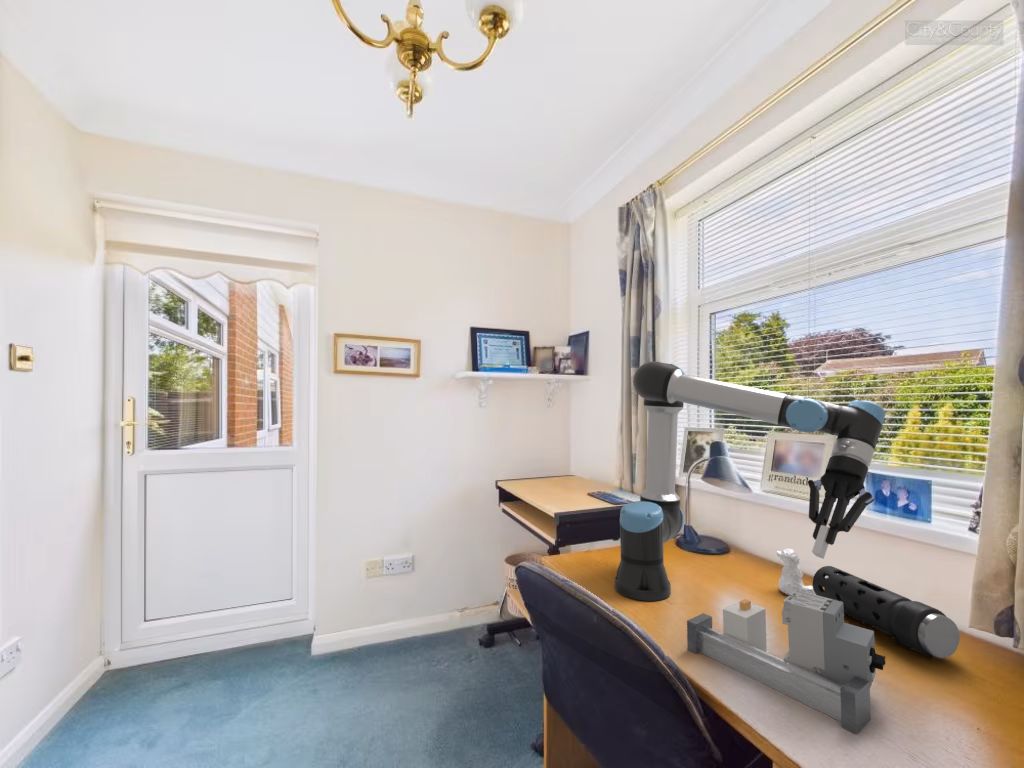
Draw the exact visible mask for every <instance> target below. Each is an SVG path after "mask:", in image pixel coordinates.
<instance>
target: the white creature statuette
mask: <svg viewBox="0 0 1024 768" xmlns="http://www.w3.org/2000/svg"><path fill="white" fill-rule="evenodd" d="M776 556H777V557H779V560H781V561H782V562H783V564H784V565H783V567H782V569H781V574H780V577H779V580H778V583H777V584H778V587H779V590H780V591H781V592H782V593H783V594H784V593H785V595H788V596H790V594H791V593H792V592H793V591H794V590H796V591H799V592H801V591H802V592H806V593H810V594H814V595H816V594H815V592H814V589H813V585H804V584H805V583H804V582H803V576H804V573H803V572H802V571H801V568H800V566H799V564H800V561H801V559H800V558H799V556H798V554H797V553H796V551H795V550H794V549H792V548H788V547H787V548H784V549H782V551H779V550H776Z"/></svg>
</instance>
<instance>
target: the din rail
mask: <svg viewBox="0 0 1024 768" xmlns="http://www.w3.org/2000/svg"><path fill="white" fill-rule="evenodd" d="M686 632H687V634H686V636H687V637H686V638H687V639H686V641H687V650H688V651H690V652H692V653H694V654H696V655H697V654H698V653H701V654H702V655H705V656H706V657H709V658H711V659H713V660H715V661H716V662H718V663H721V664H723V665H725V666H727V667H729V668H732V669H733V670H735V671H738V672H739V673H741V674H743V675H746V676H747V677H749V678H751V679H753V680H755V681H757V682H760V683H761V684H764V685H766V686H767V687H770V688H772V689H773V690H775V691H778V692H779V693H781V694H783V695H786V696H788V697H790V698H792V699H794V700H795V701H798V702H800V703H802V704H804V705H805V706H807V707H810V708H812V709H814V710H816V711H818V712H820V713H823V714H824V715H826V716H828V717H830V718H833V719H835V720H837V721H838V722H840V723H841V728H843V729H845V730H847V731H849V732H851V733H853V734H855V735H858V734H859V732H860V731H861V730H863V729H864V727H865V726H867V724H869V722H870V721H871V720H872V713H871V691H870V690H871V687H870V683H869V681H866V680H864V679H862V678H859V677H857V676H854V677H853V678H852V679H851V680H850V681H848V682H847V683H846V684H845V685H844V686H842V685H840V684H838V683H835V682H833V681H831V680H828V679H826V678H824V677H821V676H819V675H817V674H815V673H812V672H810V671H808V670H805V669H803V668H801V667H799V666H796V665H794V664H792V663H789V662H787V661H785V660H784V658H783V659H782V658H780V657H778V656H775V655H773V654H770V653H769V652H767V653H766V652H764V651H762V650H760V649H757V648H755V647H753V646H750V645H748V644H746V643H744V642H741V641H739V640H737V639H734V638H732V637H730V636H728V635H725V634H723V632H720V631H719V630H716V629H714V628H713V616H711V615H709V614H707V613H701V614H699V615H696V616H694V617H692V618H690V619H687V620H686Z"/></svg>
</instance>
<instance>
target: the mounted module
mask: <svg viewBox="0 0 1024 768" xmlns="http://www.w3.org/2000/svg"><path fill="white" fill-rule="evenodd" d="M766 617H767V616H766V608H765V607H763V606H760V605H756V604H754V603H752V602H751V600H749V599H745V598H744V599H743V600H739V601H737V602H735V603H732V604H730V605H727V606H726V607H724V608H722V623H723V624H722V625H723V626H722V630H723V632H722V633H723V634H725V635H728V636H730V637H732V638H734V639H737V640H739V641H741V642H744V643H746V644H748V645H750V646H753V647H755V648H757V649H760V650H762V651H764V652H766V653H768V651H767V649H768V648H767V647H768V646H767V626H766V625H767V622H766V620H767V619H766Z"/></svg>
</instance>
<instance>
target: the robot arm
mask: <svg viewBox="0 0 1024 768" xmlns="http://www.w3.org/2000/svg"><path fill="white" fill-rule="evenodd" d="M632 379H633V380H632V383H633V388H634V390H635V391H636V393H637V395H639V396H640V397H641V398H642V399H643V408H645V410H646V411H647V412H648V416H647V417H648V419H647V444H646V445H647V446H646V469H645V471H646V472H645V473H646V474H645V476H646V477H645V489H644V490H643V491H642V492H641V493H639V495H640V496H639V497H640V499H639V500H638V501H635V502H628V503H626V504H625V505H623V506H622V507H621V508H620V513H619V515H620V516H619V520H618V521H619V537H620V538H619V539H620V560H619V564H618V568H617V572H616V575H615V577H614V589H615V591H616V592H617V593H618V594H620V595H622V596H623V597H627V598H630V599H633V600H637V601H645V602H653V601H657V602H658V601H661V600H665V599H668V598H669V597H670V596H671V594H672V591H671V589H672V588H671V582H670V580H669V577H668V573H667V570H666V567H665V564H664V561H665V560H664V544H665V543H666V542H668V541H669V540H671V539H673V538H675V537H676V536H677V535H678V534H679V533H680V531H681V530H682V528H683V527H684V522H685V517H684V511H683V510H682V508H681V497H680V496H679V495H678V493H677V492H676V476H677V475H676V473H677V447H678V445H677V444H678V421H679V418H678V417H679V413H680V412H681V411H682V410H683V409H684V403H685V404H689V405H693V406H698V407H701V408H704V409H705V408H706V409H709V410H715V411H718V412H723V413H727V414H732V415H736V416H739V417H745V418H749V419H753V420H757V421H761V422H765V423H769V424H774V425H778V426H781V427H786V428H791V429H794V430H795V431H798V432H801V433H802V432H803V433H809V434H810V433H814V432H815V433H816V432H819V433H820V432H821V433H824V434H828V435H832V436H834V437H835V436H836V439H835V442H834V445H833V448H832V451H831V454H830V455H831V456H830V457H829V459H828V461H827V465H826V468H825V471H824V474H823V475H821V476H820V479H817V480H812V479H809V480H808V481H807V485H808V487H809V502H808V503H809V504H808V518H809V519H810V521H811V522H812V523H813V524H815V527H814V530H813V532H812V538H813V540H815V542H814V545H813V547H812V551H811V553H812V554H813V555H814V556H815V557H817V558H821V559H825V556H826V553H827V550H828V546H829V545H830V546H833V545H834V544H835V541H836V538H837V535H838V534H839V532H845V533H849V532H850V531H851V529H852V528H853V527H854V525H855V523H856V522H857V521H858V519H859V518H860V516H861V515H862V513H863V512H864V510H866V507H868V505H870V504H872V503H873V502H874V501H875V498H874V496H873V495H872V493H871V492H869V491H867V490H865V481H866V477H867V475H868V472H869V467H870V465H871V463H872V459H873V455H874V452H875V449H876V448H877V447H876V446H877V444H878V440H879V438H880V435H881V433H882V430H883V429H882V428H883V426H884V422H885V417H886V411H885V409H884V408H883V407H882V406H881V405H880V404H878V403H875V402H874V401H871V400H865V399H864V400H859V399H856V400H852V401H850V402H849V403H848V405H847V406H844V405H838V404H833V403H831V402H826V401H822V400H819V399H813V398H810V397H807V396H800V395H791V394H786V393H782V392H781V393H780V392H778V391H777V392H776V391H771V390H766V389H765V390H764V389H760V388H757V387H750V386H745V385H741V384H736V383H731V382H726V381H720V380H715V379H712V378H706V377H700V376H695V375H690V374H687V373H686V372H685V371H684V370H683V369H681V368H680V367H679V366H677V365H676V364H673V363H668V362H667V363H666V362H660V361H655V360H654V361H648V362H645V363H643V364H641V365H640V366H639V367H638V368H637V369H636V370H635V373H634V374H633V378H632ZM822 487H823V489H824V491H825V493H824V497H823V501H822V504H821V507H820V491H821V489H822ZM857 496H858V497H857ZM855 497H857V499H856V500H855V501H854V503H853V504H852V505H851V507H850V508H849V510H848V511H847V509H848V507H849V505H850V501H851V500H852V499H853V498H855ZM835 503H836V504H835ZM834 505H835V506H834ZM833 508H834V510H833ZM832 511H833V513H832ZM846 511H847V512H846ZM831 513H832V516H831ZM830 517H831V518H830ZM829 519H830V521H829ZM828 522H829V523H828Z"/></svg>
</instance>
